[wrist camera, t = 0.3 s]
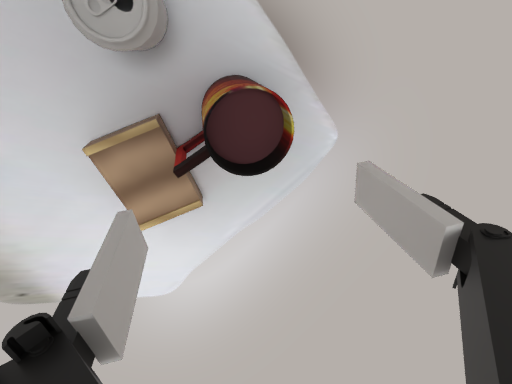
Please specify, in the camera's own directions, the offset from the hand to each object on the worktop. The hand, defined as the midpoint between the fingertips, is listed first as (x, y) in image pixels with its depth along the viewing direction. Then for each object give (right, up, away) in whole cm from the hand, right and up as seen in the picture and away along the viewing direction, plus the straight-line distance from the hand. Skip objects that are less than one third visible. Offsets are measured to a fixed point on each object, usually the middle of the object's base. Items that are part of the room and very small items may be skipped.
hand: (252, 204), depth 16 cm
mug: (-4, +11, +24) cm, 26 cm away
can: (-14, +22, +16) cm, 30 cm away
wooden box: (-15, +4, +25) cm, 29 cm away
